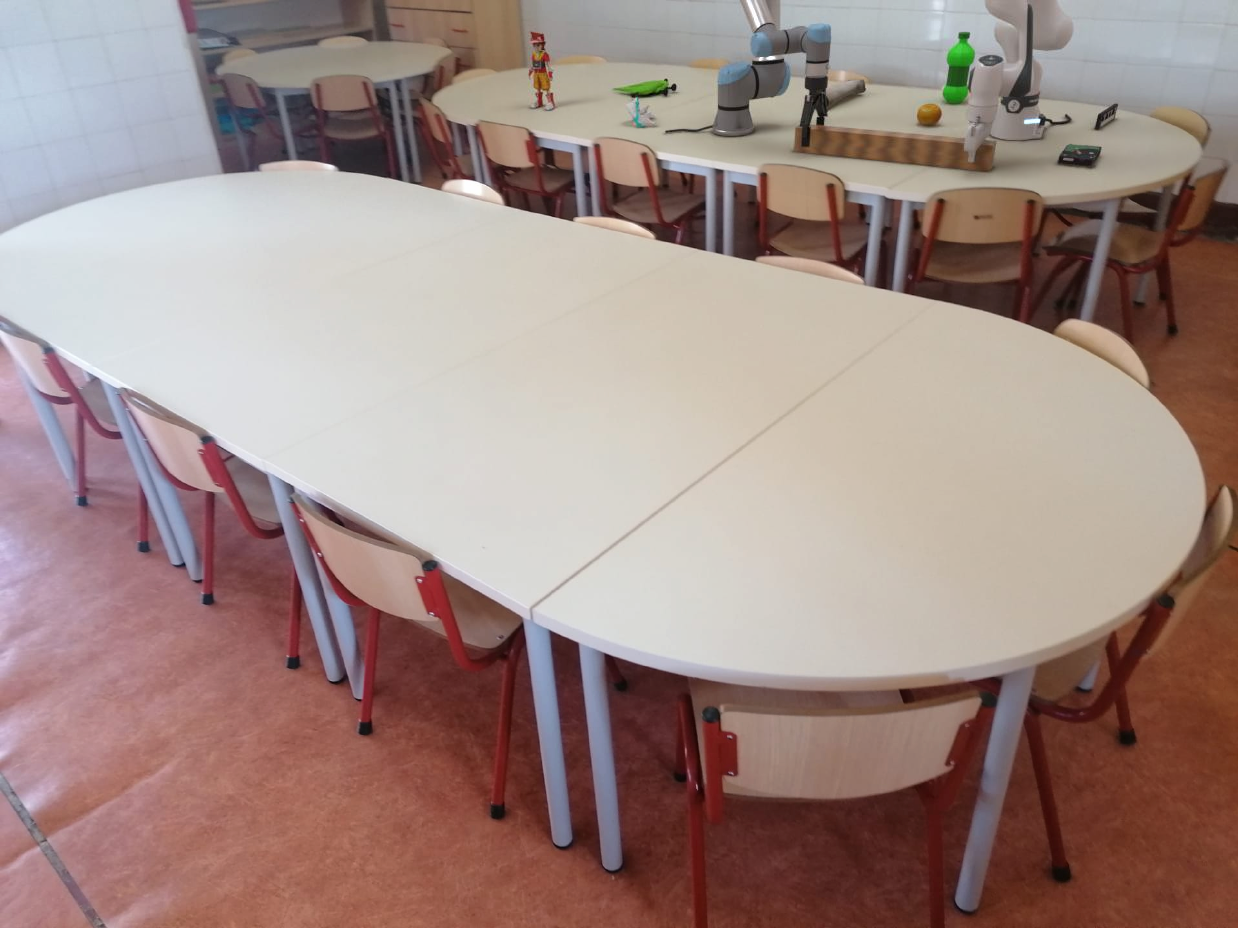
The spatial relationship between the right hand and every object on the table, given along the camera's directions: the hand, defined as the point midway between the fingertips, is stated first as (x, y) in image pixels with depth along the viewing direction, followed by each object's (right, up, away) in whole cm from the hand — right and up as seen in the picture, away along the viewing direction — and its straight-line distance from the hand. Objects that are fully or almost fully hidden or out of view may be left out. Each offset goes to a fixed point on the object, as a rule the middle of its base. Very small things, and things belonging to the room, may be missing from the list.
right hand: (973, 158), depth 286 cm
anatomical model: (-104, +37, +68) cm, 130 cm away
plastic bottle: (+20, +46, +69) cm, 85 cm away
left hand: (-46, +14, +23) cm, 54 cm away
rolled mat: (-24, +51, +80) cm, 98 cm away
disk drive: (+35, 0, +2) cm, 35 cm away
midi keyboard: (+60, +24, +34) cm, 73 cm away
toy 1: (-146, +55, +97) cm, 184 cm away
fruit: (+1, +28, +45) cm, 53 cm away
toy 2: (-104, +67, +111) cm, 167 cm away
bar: (-23, +5, +13) cm, 27 cm away
